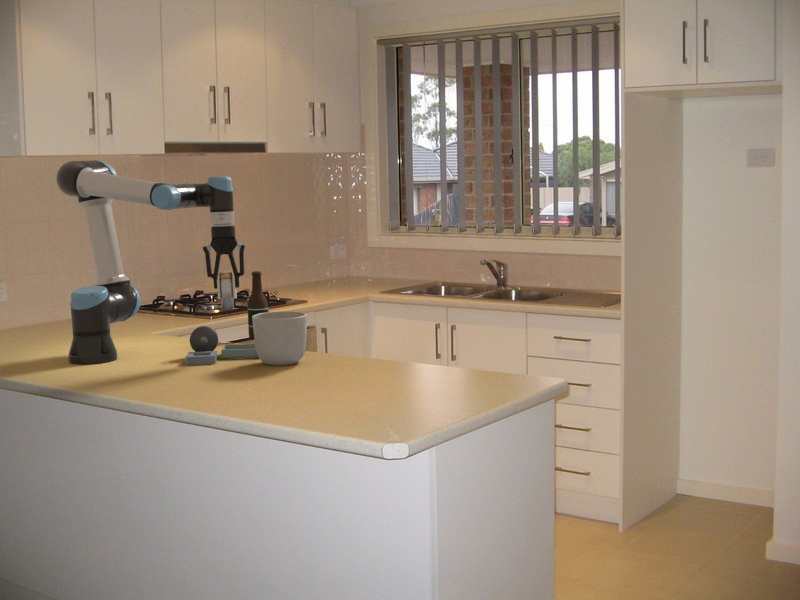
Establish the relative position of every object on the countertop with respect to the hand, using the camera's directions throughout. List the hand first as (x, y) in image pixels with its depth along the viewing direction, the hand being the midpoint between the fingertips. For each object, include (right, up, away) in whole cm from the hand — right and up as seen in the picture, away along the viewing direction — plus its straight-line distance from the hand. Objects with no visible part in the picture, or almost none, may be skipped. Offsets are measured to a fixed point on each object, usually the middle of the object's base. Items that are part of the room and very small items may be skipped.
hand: (227, 298), depth 323 cm
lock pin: (0, -4, 0) cm, 4 cm away
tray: (+5, -19, +7) cm, 20 cm away
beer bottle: (+4, -14, +41) cm, 44 cm away
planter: (+18, -20, -8) cm, 29 cm away
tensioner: (-8, -20, +1) cm, 21 cm away
